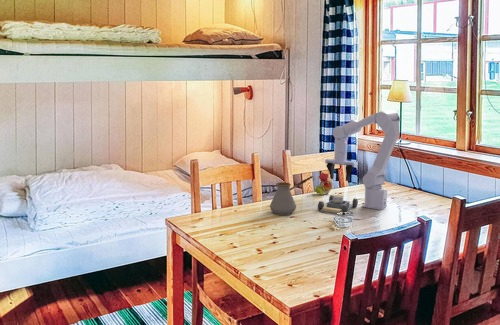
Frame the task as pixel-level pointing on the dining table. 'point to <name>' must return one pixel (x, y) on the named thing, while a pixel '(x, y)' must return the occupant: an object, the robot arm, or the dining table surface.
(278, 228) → the dining table surface
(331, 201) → the chassis
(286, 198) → the coffee pot
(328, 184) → the bird rattle
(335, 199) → the block
